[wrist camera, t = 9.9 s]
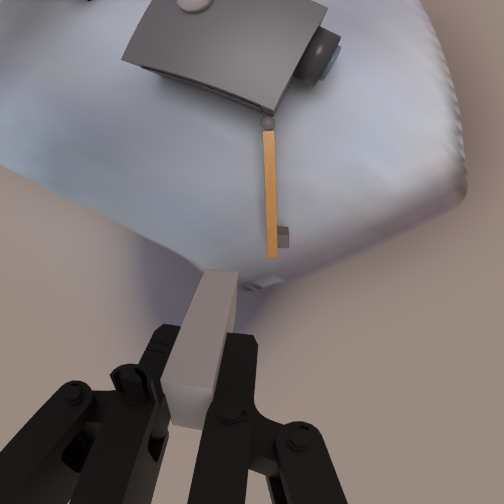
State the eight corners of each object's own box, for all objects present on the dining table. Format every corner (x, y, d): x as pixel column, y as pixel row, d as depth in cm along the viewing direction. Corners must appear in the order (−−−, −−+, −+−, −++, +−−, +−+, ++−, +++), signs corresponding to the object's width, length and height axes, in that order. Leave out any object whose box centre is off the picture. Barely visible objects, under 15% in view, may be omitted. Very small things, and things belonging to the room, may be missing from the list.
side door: (263, 119, 23) (260, 116, 18) (284, 118, 23) (287, 115, 18) (267, 235, 28) (266, 259, 23) (287, 234, 27) (289, 259, 23)
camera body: (159, 75, 22) (114, 59, 14) (199, 1, 19) (171, -38, 11) (294, 127, 24) (304, 126, 16) (334, 50, 20) (360, 18, 12)
